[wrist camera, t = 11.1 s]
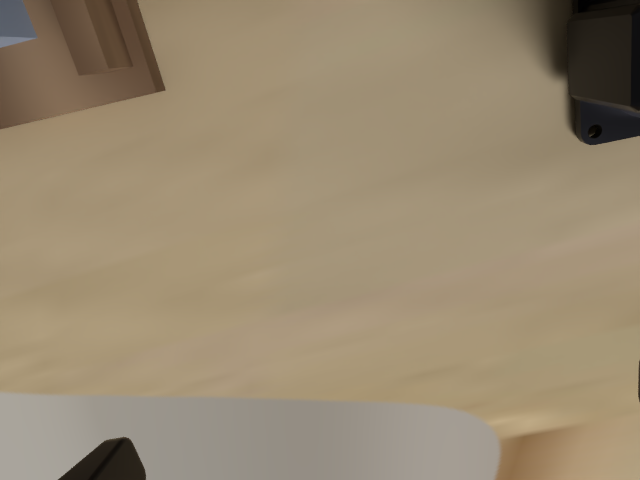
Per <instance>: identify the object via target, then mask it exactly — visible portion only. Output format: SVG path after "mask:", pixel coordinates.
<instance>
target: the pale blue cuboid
mask: <svg viewBox="0 0 640 480" xmlns="http://www.w3.org/2000/svg"><path fill="white" fill-rule="evenodd" d="M36 38H38V37H37V35H36V32H35V30H34V27H33V25H32V22H31V20H30V18H29V15H28V13H27V10H26V8H25V5H24V3H23V0H0V48H1V47H5V46H9V45H13V44H17V43H21V42H24V41H28V40H32V39H36Z"/></svg>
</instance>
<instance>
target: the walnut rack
mask: <svg viewBox="0 0 640 480" xmlns="http://www.w3.org/2000/svg"><path fill="white" fill-rule="evenodd" d="M23 3H24V5H25V8H26V10H27V13H28V15H29V18H30V20H31V22H32V25H33V27H34V30H35V32H36V35H37V37H38V38H36V39H32V40H28V41H24V42H21V43H17V44H13V45H9V46H5V47H1V48H0V129H3V128H7V127H12V126H16V125H20V124H24V123H29V122H33V121H37V120H41V119H46V118H50V117H54V116H58V115H63V114H67V113H71V112H75V111H80V110H84V109H88V108H92V107H97V106H101V105H105V104H109V103H114V102H118V101H122V100H126V99H131V98H135V97H139V96H143V95H148V94H152V93H156V92H160V91H164V90H165V87H164V84H163V81H162V78H161V75H160V72H159V68H158V65H157V62H156V59H155V56H154V53H153V50H152V47H151V44H150V40H149V37H148V34H147V31H146V28H145V25H144V22H143V19H142V16H141V12H140V9H139V6H138V3H137V0H23Z"/></svg>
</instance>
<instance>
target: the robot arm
mask: <svg viewBox="0 0 640 480" xmlns="http://www.w3.org/2000/svg"><path fill="white" fill-rule="evenodd" d="M572 6H573V15H572V16H571V18H570V19H569V21H568V22H567V51H568V84H569V94H570V95H571V96H572V97H574V98H575V119H576V135H577V138H578V139H579V140H580V141H581V142H584V143H586V144H589V145H597V144H602V143H607V142H612V141H616V140H621V139H626V138H631V137H636V136H640V0H572ZM593 125H596V127H597V130H596V132H595V134H594V135H592V136H590V137H589V135H588V130H589V128H590V127H591V126H593ZM638 397H639V402H640V361H639V382H638ZM58 480H146V474H145V469H144V467H143V464H142V462H141V460H140V458H139V456H138V454H137V452H136V449H135V447H134V445H133V443H132V441H131V440H130V439H129V438H126V437H122V438H116V439H109V440H106V441H104V442H103V443H101V444H100V445H99V446H98V447H97V448H96V449H94V450H93V451H92V452H91V453H89V454H88V455H87V456H86V457H85V458H83V459H82V460H81V461H80V462H79V463H78V464H76V465H75V466H74V467H73V468H71V470H69V471H68V472H67V473H65V475H63V476H62V477H61V478H59V479H58Z"/></svg>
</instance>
